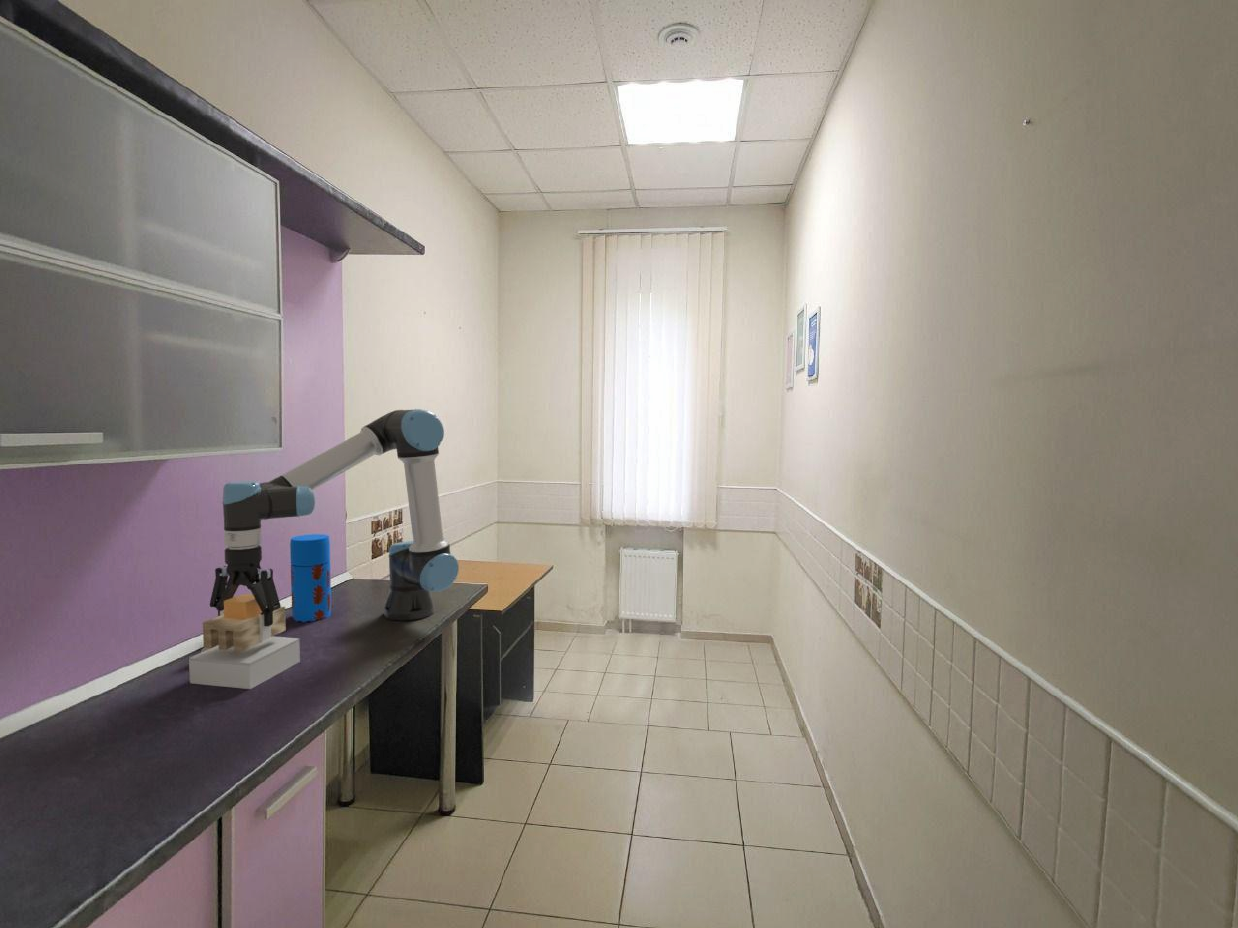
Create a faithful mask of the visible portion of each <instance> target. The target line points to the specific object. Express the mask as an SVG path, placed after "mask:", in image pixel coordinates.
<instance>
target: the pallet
mask: <svg viewBox="0 0 1238 928" xmlns="http://www.w3.org/2000/svg"><path fill="white" fill-rule="evenodd" d="M266 608H267V606H266ZM286 623H287V622H286V606H281V607H280V608H279V609H277V610H274V611H273V624H272V625H271V637H272V636H274V637H276V635H278V634H281V633H283V632H285V631H286V630H287V625H286ZM202 635H203V637H202V638H203V641H202V642H203V648H213V647H216V646H218V645H219V649H224V650H227V649H229V648H231V647H233V646H234V650H235V651H243V650H245V649H247V648H249V647H251V646H253V645H255V644H258V643H260V642H262V641H260V626H259V614H258V615H256V616H253V617H251V618H248V619H237V618H224V615H221V616H218V615H217V616H216V617H214V618H211V619H209V620H205V621H203V622H202Z"/></svg>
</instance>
